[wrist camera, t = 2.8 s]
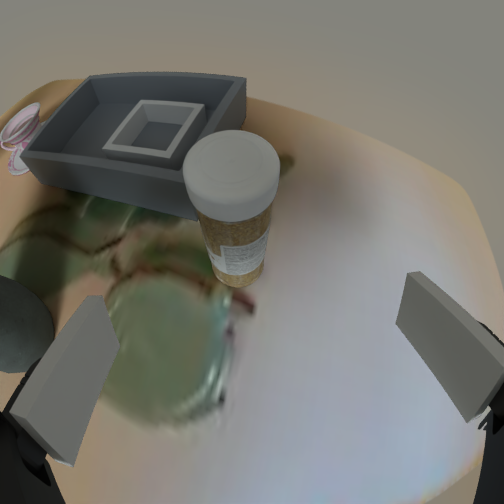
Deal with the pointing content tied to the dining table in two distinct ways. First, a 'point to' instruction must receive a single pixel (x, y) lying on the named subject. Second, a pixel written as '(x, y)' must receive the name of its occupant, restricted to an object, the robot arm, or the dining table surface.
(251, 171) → the sprinkles bottle
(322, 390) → the dining table surface
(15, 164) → the teacup
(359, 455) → the dining table surface
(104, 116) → the walled box
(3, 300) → the vodka
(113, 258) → the dining table surface
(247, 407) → the dining table surface
